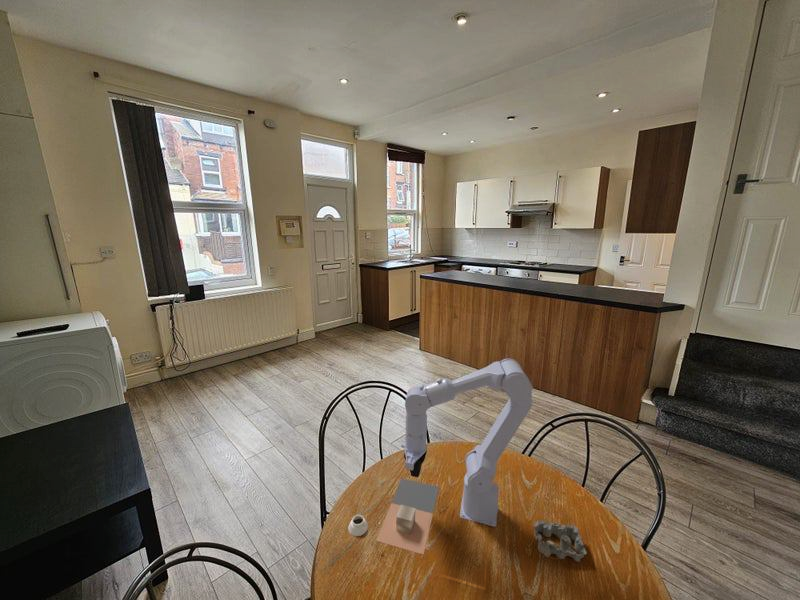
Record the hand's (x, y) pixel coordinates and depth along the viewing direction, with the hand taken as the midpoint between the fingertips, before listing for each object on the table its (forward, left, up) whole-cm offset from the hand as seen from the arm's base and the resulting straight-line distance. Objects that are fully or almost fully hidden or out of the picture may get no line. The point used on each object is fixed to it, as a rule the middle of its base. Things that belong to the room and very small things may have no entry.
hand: (415, 475), depth 89 cm
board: (0, +2, -9) cm, 10 cm away
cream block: (0, +8, -9) cm, 12 cm away
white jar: (+12, +12, -10) cm, 20 cm away
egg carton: (-37, +2, -10) cm, 38 cm away
